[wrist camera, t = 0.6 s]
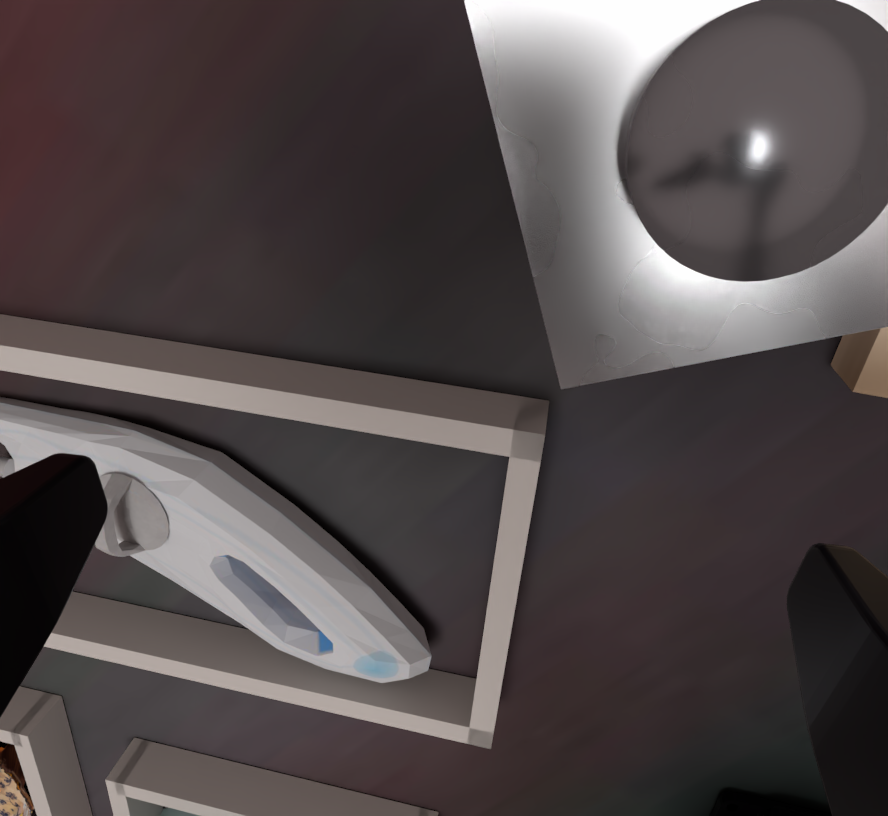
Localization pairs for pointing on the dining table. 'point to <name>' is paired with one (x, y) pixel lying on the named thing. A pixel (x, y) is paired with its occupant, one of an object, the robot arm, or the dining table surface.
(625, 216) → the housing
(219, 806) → the coaster tray rim
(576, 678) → the dining table surface
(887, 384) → the stand
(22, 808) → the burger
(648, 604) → the dining table surface
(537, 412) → the casing tray rim
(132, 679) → the dining table surface
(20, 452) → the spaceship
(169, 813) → the right angle wall
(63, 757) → the tray
